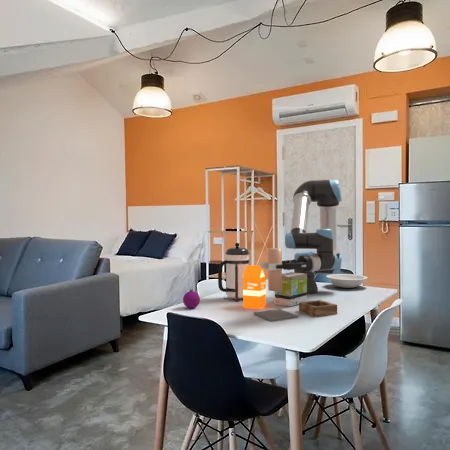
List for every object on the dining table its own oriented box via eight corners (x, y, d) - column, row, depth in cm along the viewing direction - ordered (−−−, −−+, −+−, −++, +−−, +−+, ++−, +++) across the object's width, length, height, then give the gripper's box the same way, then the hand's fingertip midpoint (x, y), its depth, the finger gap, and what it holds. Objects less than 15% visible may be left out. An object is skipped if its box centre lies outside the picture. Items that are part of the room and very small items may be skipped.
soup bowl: (370, 291, 228) (370, 280, 228) (327, 290, 232) (327, 279, 232) (363, 284, 251) (363, 274, 251) (324, 283, 256) (324, 273, 256)
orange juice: (249, 304, 198) (248, 264, 198) (265, 305, 194) (265, 265, 194) (243, 307, 191) (242, 266, 191) (260, 309, 187) (259, 266, 187)
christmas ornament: (183, 310, 187) (183, 289, 186) (182, 306, 195) (182, 286, 194) (201, 309, 188) (200, 288, 188) (199, 305, 196) (198, 285, 196)
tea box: (291, 307, 191) (291, 276, 191) (274, 304, 198) (273, 274, 197) (307, 302, 202) (307, 273, 202) (290, 299, 209) (290, 271, 208)
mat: (253, 314, 178) (253, 312, 178) (280, 310, 184) (280, 309, 184) (270, 321, 165) (270, 319, 165) (298, 317, 171) (298, 315, 171)
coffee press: (225, 295, 220) (224, 241, 219) (253, 296, 217) (253, 241, 216) (218, 302, 203) (217, 243, 202) (249, 303, 200) (248, 243, 199)
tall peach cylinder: (265, 289, 175) (265, 248, 175) (277, 288, 178) (276, 247, 177) (273, 291, 170) (272, 249, 169) (284, 290, 172) (284, 248, 172)
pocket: (298, 311, 182) (298, 302, 182) (319, 308, 188) (319, 299, 187) (315, 317, 172) (315, 307, 171) (337, 313, 177) (337, 304, 177)
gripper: (321, 274, 173) (277, 278, 163) (295, 269, 190) (253, 272, 180) (321, 256, 173) (277, 259, 163) (295, 253, 190) (253, 256, 180)
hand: (264, 266), depth 171 cm, fingers closed on tall peach cylinder, 6 cm apart
